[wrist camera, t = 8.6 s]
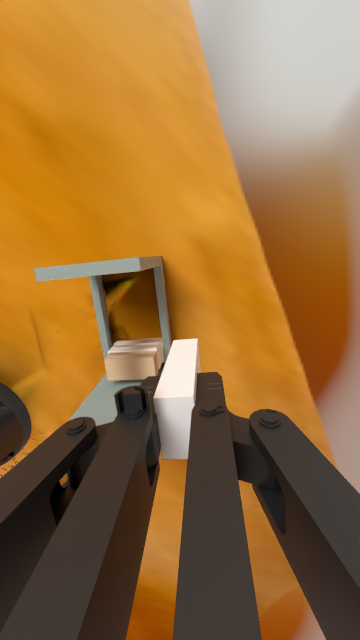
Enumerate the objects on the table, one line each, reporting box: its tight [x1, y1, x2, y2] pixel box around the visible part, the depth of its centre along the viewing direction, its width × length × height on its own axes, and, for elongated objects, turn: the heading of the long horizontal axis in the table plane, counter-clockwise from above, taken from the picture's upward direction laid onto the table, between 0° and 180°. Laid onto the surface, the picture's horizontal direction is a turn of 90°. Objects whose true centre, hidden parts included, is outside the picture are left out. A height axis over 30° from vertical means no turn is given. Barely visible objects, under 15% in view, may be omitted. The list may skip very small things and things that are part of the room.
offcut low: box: [113, 338, 165, 363], centre depth 38 cm, size 7×3×2 cm, turn 95°
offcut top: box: [104, 351, 159, 381], centre depth 33 cm, size 6×3×2 cm, turn 95°
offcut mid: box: [108, 342, 162, 369], centre depth 36 cm, size 7×3×2 cm, turn 96°
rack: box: [34, 256, 172, 426], centre depth 31 cm, size 10×17×13 cm, turn 6°
